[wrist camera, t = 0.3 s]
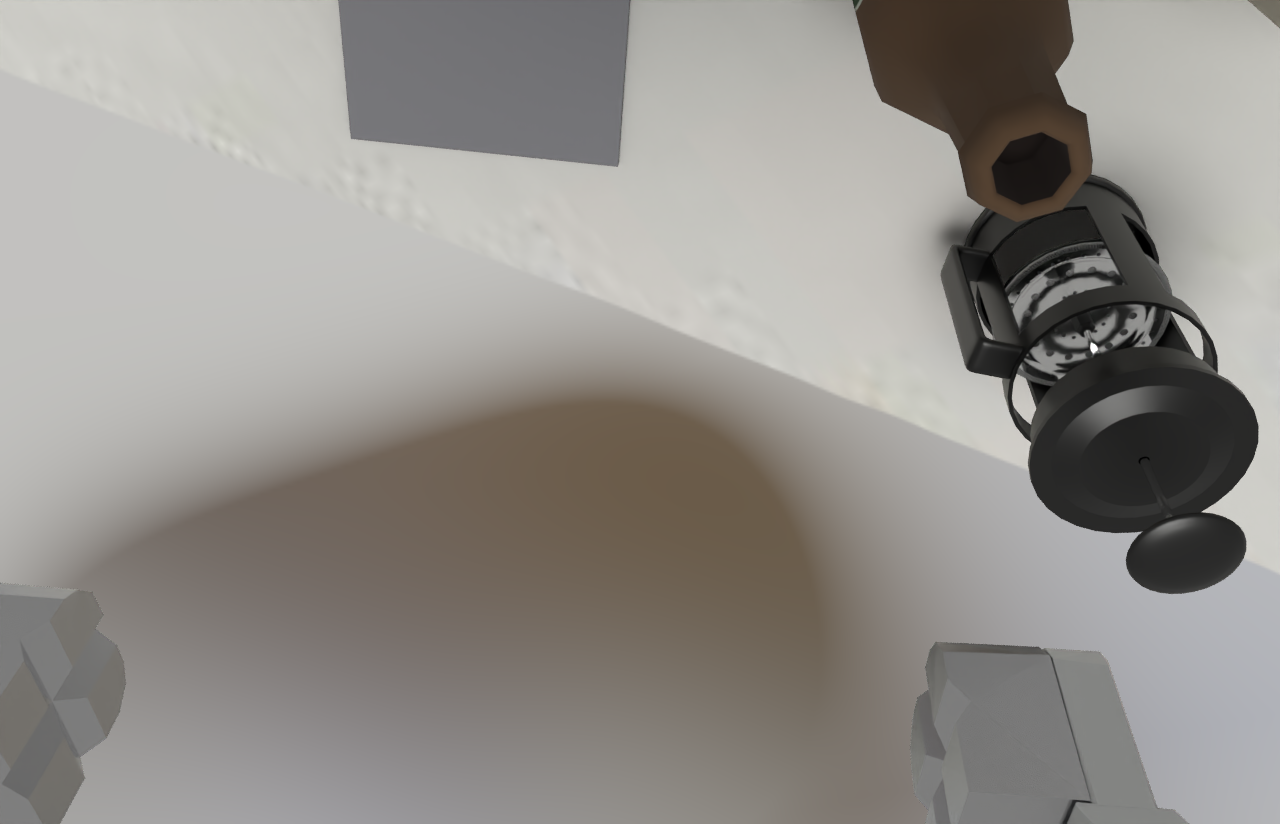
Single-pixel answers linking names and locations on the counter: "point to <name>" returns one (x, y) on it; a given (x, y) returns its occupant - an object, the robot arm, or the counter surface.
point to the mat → (488, 75)
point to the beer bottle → (986, 92)
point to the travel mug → (1269, 9)
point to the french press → (1111, 388)
